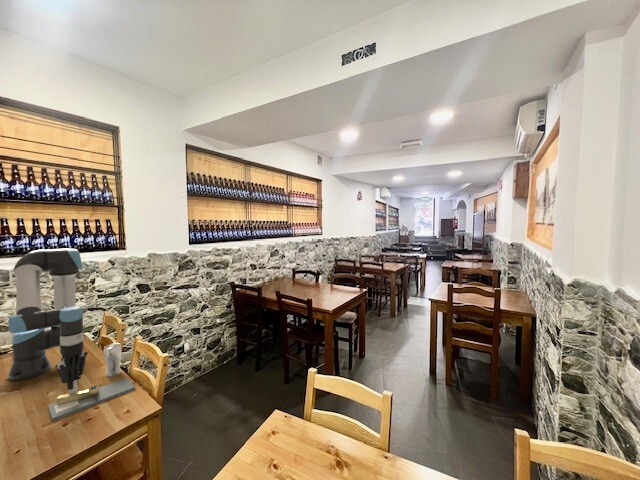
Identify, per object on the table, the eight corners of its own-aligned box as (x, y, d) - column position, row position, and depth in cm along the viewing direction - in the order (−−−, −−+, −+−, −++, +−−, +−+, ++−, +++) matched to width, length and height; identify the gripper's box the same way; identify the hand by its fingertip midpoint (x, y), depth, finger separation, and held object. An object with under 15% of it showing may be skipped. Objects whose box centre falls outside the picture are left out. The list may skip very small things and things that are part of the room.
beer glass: (112, 378, 137) (111, 349, 136) (101, 376, 138) (100, 347, 137) (125, 371, 144) (124, 343, 143) (114, 369, 145) (113, 342, 144)
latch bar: (98, 395, 120) (98, 387, 120) (56, 405, 113) (56, 397, 113) (99, 391, 123) (99, 383, 123) (59, 400, 116) (58, 392, 116)
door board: (48, 407, 114) (48, 404, 114) (127, 379, 135) (127, 377, 135) (52, 421, 106) (51, 418, 106) (134, 389, 128) (134, 386, 128)
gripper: (66, 349, 111) (67, 404, 112) (93, 336, 124) (94, 386, 125) (48, 349, 111) (49, 404, 113) (77, 336, 124) (78, 385, 126)
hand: (73, 394), depth 119 cm, fingers closed
